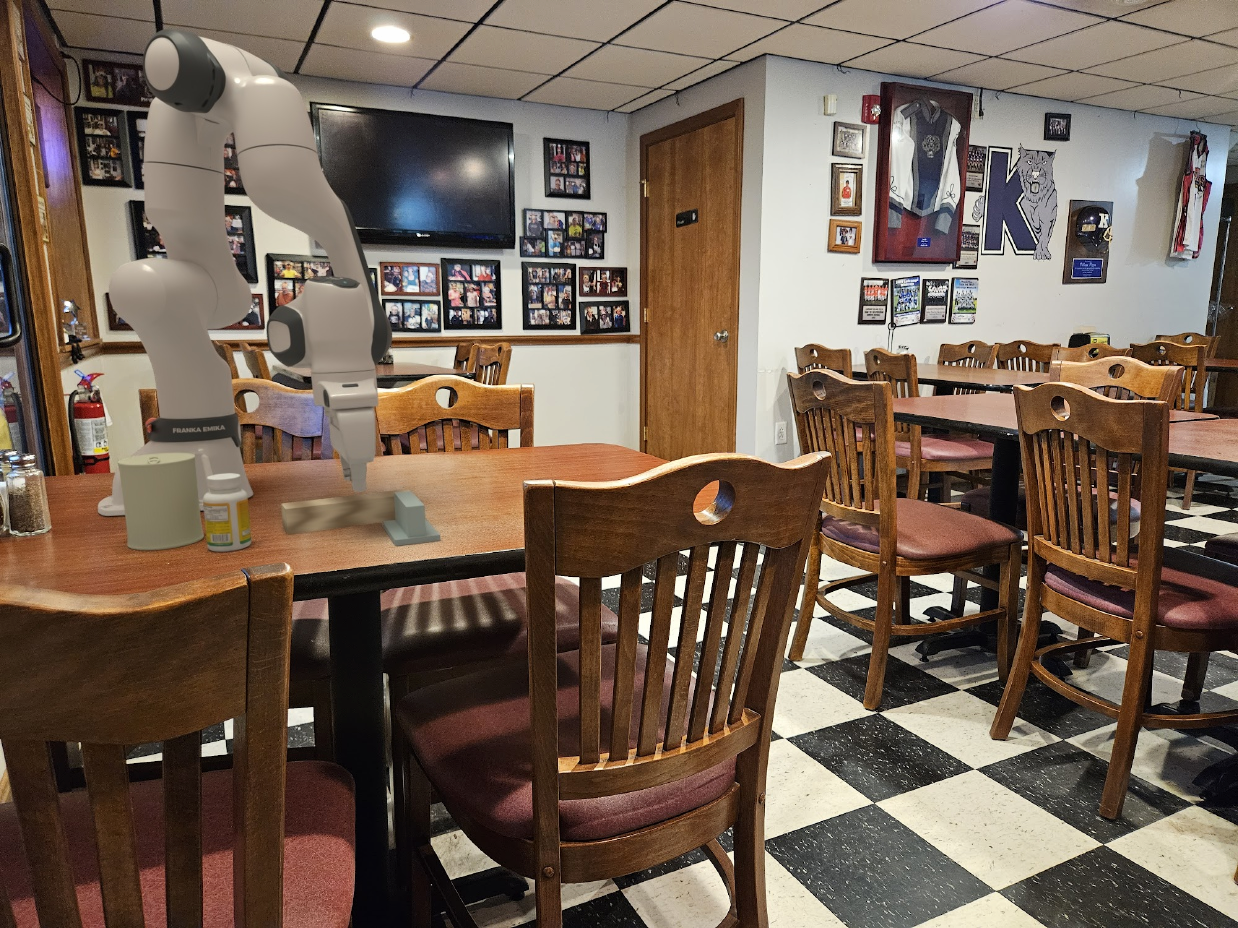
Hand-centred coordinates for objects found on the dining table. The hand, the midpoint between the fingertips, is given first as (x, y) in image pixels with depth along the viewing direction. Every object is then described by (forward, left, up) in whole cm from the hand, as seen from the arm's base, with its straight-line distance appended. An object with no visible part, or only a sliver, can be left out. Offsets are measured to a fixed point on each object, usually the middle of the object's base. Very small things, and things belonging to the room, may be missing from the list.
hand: (354, 485), depth 119 cm
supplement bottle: (-17, -6, -6) cm, 19 cm away
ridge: (+6, -10, -6) cm, 13 cm away
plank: (-1, 0, -6) cm, 6 cm away
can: (-25, +1, -6) cm, 26 cm away
